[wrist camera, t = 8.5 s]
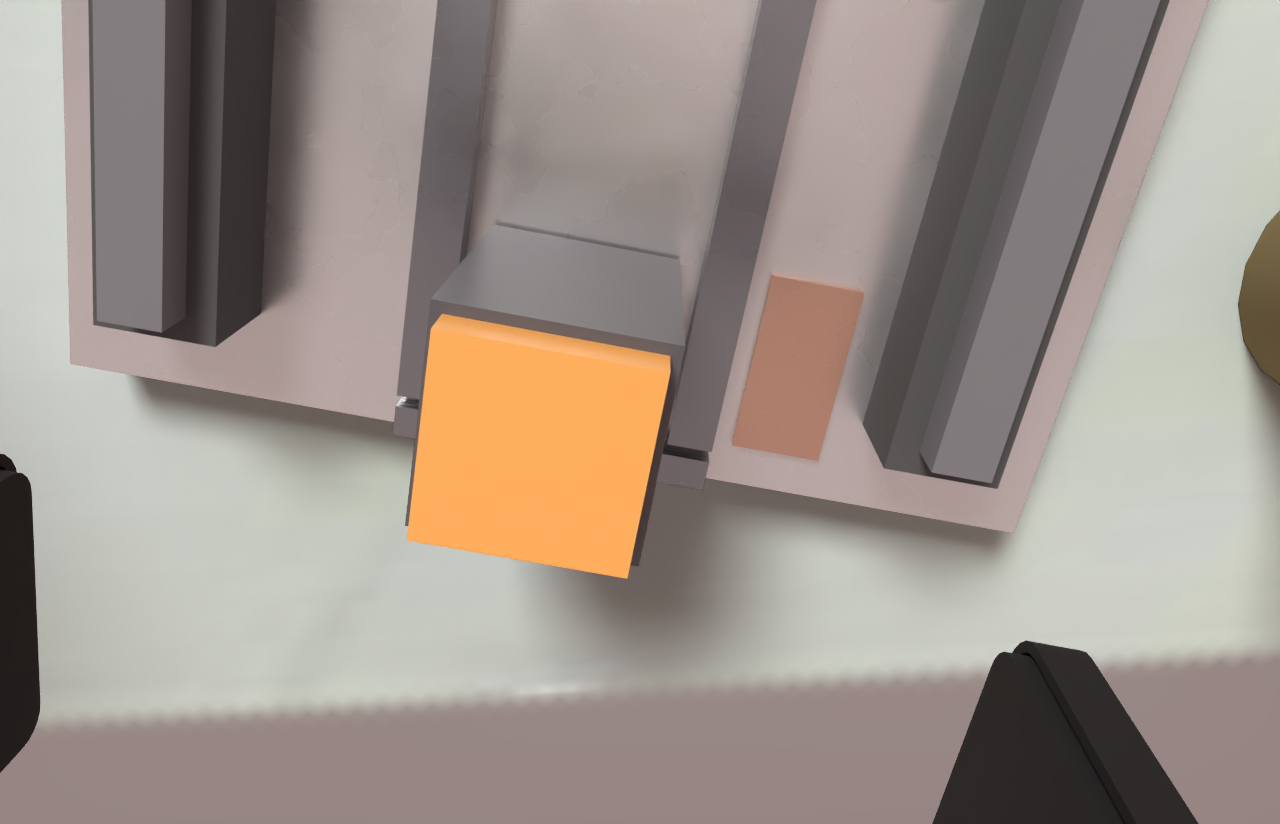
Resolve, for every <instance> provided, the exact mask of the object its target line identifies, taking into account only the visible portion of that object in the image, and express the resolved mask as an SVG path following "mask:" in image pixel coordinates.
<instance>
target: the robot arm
mask: <svg viewBox="0 0 1280 824" xmlns="http://www.w3.org/2000/svg"><path fill="white" fill-rule="evenodd" d="M39 712H40V685H39V661H38V637H37V612H36V588H35V563H34V539H33V515H32V491H31V485H30V482H29V480H28V478H27V477H26V476H25V475H24V474H22V473H17V472H16V467H15V466H14V464H13V462H12V460H11V459H10V458H9V457H7V456H6V455H4V454H0V772H1V771H2V770H3V769H4V768H5V767H6V766H7V765H8V764H9V763H10V761H11V760H12V759H13V758H14V757H15V756H16V755H17V754H18V753H19V752H20V750H21V749H22V748H23V747H24V746H25V744H26V743H27V742H28V740H29V739H30V737H31V735H32V733H33V731H34V729H35V726H36V724H37V721H38V717H39ZM933 824H1198V822H1197V821H1196V819H1195V818H1194V816H1193V815H1192V813H1191V812H1190V810H1189V808H1188V807H1187V805H1186V804H1185V802H1184V801H1183V799H1182V797H1181V796H1180V794H1179V793H1178V791H1177V790H1176V788H1175V787H1174V785H1173V784H1172V782H1171V781H1170V779H1169V777H1168V776H1167V774H1166V773H1165V771H1164V770H1163V768H1162V767H1161V765H1160V763H1159V762H1158V760H1157V759H1156V757H1155V756H1154V754H1153V753H1152V751H1151V749H1150V748H1149V746H1148V745H1147V743H1146V742H1145V740H1144V739H1143V737H1142V735H1141V734H1140V732H1139V731H1138V729H1137V728H1136V726H1135V725H1134V723H1133V722H1132V720H1131V718H1130V717H1129V715H1128V714H1127V713H1126V711H1125V709H1124V708H1123V706H1122V704H1121V703H1120V701H1119V700H1118V698H1117V697H1116V695H1115V694H1114V692H1113V691H1112V689H1111V687H1110V686H1109V684H1108V683H1107V681H1106V680H1105V678H1104V677H1103V675H1102V673H1101V672H1100V670H1099V669H1098V667H1097V666H1096V664H1095V663H1094V661H1093V660H1092V658H1091V657H1090V656H1089V655H1088V654H1087V653H1086V652H1083V651H1080V650H1075V649H1069V648H1064V647H1058V646H1053V645H1047V644H1042V643H1036V642H1031V641H1024V642H1022V643H1020V644H1019V645H1018V646H1017V647H1016V648H1015V649H1014V651H1013V653H1008V652H1002V653H1000V654H999V655H998V656H997V657H996V658H995V660H994V662H993V664H992V666H991V669H990V671H989V674H988V677H987V680H986V682H985V685H984V688H983V690H982V693H981V696H980V698H979V701H978V704H977V707H976V709H975V712H974V714H973V717H972V720H971V722H970V725H969V728H968V730H967V733H966V736H965V739H964V741H963V744H962V746H961V749H960V752H959V754H958V757H957V760H956V763H955V765H954V768H953V770H952V773H951V776H950V779H949V781H948V784H947V787H946V789H945V792H944V794H943V797H942V800H941V803H940V805H939V808H938V811H937V813H936V816H935V818H934V821H933Z"/></svg>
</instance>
